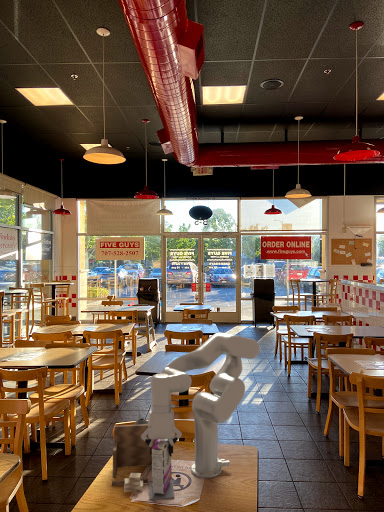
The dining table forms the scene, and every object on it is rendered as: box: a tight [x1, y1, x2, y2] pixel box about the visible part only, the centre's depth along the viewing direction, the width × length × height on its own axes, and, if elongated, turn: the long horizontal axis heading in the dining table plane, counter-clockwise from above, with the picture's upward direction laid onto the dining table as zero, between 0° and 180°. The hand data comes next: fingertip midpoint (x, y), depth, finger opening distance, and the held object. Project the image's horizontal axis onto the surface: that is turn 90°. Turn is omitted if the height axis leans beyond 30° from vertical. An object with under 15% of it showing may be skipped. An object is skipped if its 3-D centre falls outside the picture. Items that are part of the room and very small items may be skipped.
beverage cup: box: [133, 408, 148, 425], centre depth 177 cm, size 7×7×20 cm
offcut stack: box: [123, 472, 144, 493], centre depth 149 cm, size 7×4×5 cm, turn 96°
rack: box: [111, 424, 157, 487], centre depth 160 cm, size 18×15×17 cm
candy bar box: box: [151, 439, 173, 494], centre depth 148 cm, size 11×5×16 cm, turn 169°
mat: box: [148, 478, 175, 501], centre depth 148 cm, size 9×12×1 cm
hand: (161, 455), depth 148 cm, fingers closed on candy bar box, 6 cm apart
